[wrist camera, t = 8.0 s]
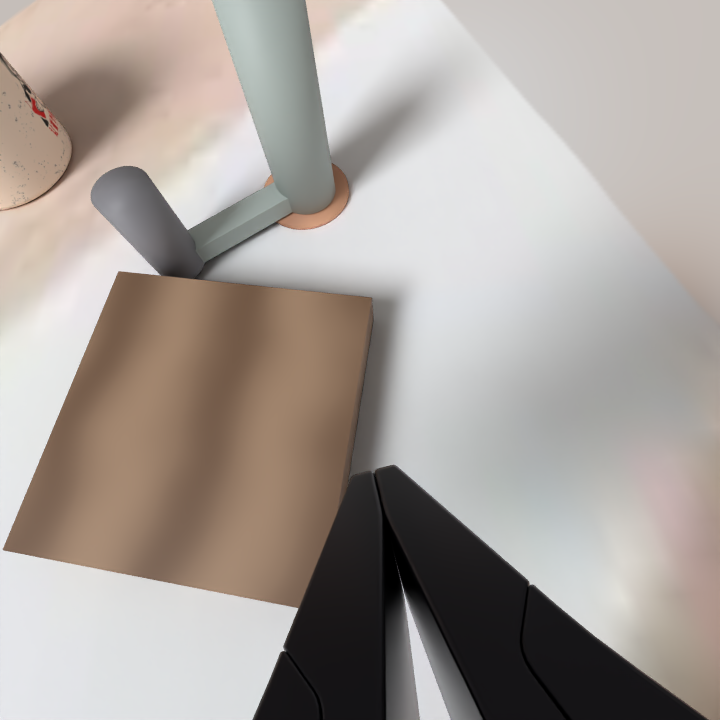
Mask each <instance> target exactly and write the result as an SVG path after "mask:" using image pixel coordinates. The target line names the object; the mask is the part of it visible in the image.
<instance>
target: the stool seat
mask: <svg viewBox="0 0 720 720" xmlns="http://www.w3.org/2000/svg"><path fill="white" fill-rule="evenodd" d="M331 164H332V170H333V176H334V183H335V196H334V198H333V200H332V202H331V203H330V204H329V205H328V206H327V207H326V208H324V209H323V210H321V211H319V212H316V213H313V214H306V215H303V214H296V213H293V212H292V213H290V214H288V215H287V216H285V217H283V218H281V219H280V220H278V221H276V222H277V223H279V224H280V225H282V226H285V227H288V228H291V229H299V230H305V229H312V228H317V227H320V226H322V225H325V224H327V223H329V222H330V221H332V220H333V219H335V218H336V217H337V216H338V215H339V214H340V213H341V212H342V210H343V209H344V207H345V205H346V203H347V200H348V196H349V188H348V182H347V179H346V177H345V175H344V173H343V172H342V171H341V170H340V169H339V168H338V167H337V166H336V165H334V164H333V163H331ZM273 182H274V180H273V177H272V174H271V175H270V177H269V178H268V180H267V181H266V183H265V186H264V187H266V186H268V185H270V184H272V183H273ZM372 326H373V306H372V298H370V297H360V296H350V295H341V294H331V293H322V292H312V291H302V290H293V289H283V288H274V287H264V286H254V285H245V284H235V283H226V282H216V281H206V280H197V279H187V278H178V277H168V276H158V275H149V274H139V273H130V272H120V271H119V272H118V274H117V276H116V279H115V281H114V284H113V286H112V288H111V291H110V293H109V296H108V298H107V300H106V303H105V305H104V308H103V310H102V312H101V315H100V317H99V320H98V322H97V324H96V327H95V329H94V332H93V334H92V336H91V339H90V341H89V344H88V346H87V348H86V351H85V353H84V356H83V358H82V360H81V363H80V365H79V368H78V370H77V372H76V375H75V377H74V380H73V382H72V384H71V387H70V389H69V392H68V394H67V396H66V399H65V401H64V404H63V406H62V408H61V411H60V413H59V416H58V418H57V420H56V423H55V425H54V428H53V430H52V433H51V435H50V437H49V440H48V442H47V445H46V447H45V449H44V452H43V454H42V457H41V459H40V461H39V464H38V466H37V469H36V471H35V473H34V476H33V478H32V481H31V483H30V485H29V488H28V490H27V493H26V495H25V497H24V500H23V502H22V505H21V507H20V509H19V512H18V514H17V517H16V519H15V521H14V524H13V526H12V529H11V531H10V533H9V536H8V538H7V541H6V543H5V545H4V548H3V550H5V551H10V552H15V553H20V554H25V555H30V556H35V557H40V558H46V559H51V560H56V561H61V562H66V563H71V564H76V565H81V566H86V567H92V568H97V569H102V570H107V571H112V572H117V573H122V574H127V575H132V576H138V577H143V578H148V579H153V580H158V581H163V582H168V583H173V584H178V585H184V586H189V587H194V588H199V589H204V590H209V591H214V592H219V593H224V594H230V595H235V596H240V597H245V598H250V599H255V600H260V601H265V602H271V603H276V604H281V605H286V606H291V607H296V608H299V606H300V604H301V601H302V599H303V596H304V594H305V591H306V589H307V586H308V584H309V581H310V579H311V576H312V574H313V571H314V569H315V566H316V564H317V561H318V559H319V556H320V554H321V551H322V549H323V546H324V544H325V542H326V539H327V537H328V534H329V532H330V529H331V527H332V524H333V522H334V519H335V517H336V514H337V512H338V509H339V507H340V504H341V502H342V499H343V497H344V494H345V492H346V489H347V485H348V479H349V472H350V466H351V459H352V453H353V447H354V440H355V434H356V428H357V421H358V415H359V408H360V402H361V396H362V389H363V383H364V377H365V370H366V364H367V357H368V351H369V345H370V338H371V332H372Z"/></svg>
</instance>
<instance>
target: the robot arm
mask: <svg viewBox="0 0 720 720" xmlns="http://www.w3.org/2000/svg"><path fill="white" fill-rule="evenodd" d="M397 566H398V567H397ZM398 570H399V571H398ZM399 574H400V575H399ZM400 578H401V579H400ZM401 582H402V584H401ZM402 586H403V589H404V593H405V596H406V599H407V602H408V605H409V608H410V611H411V613H412V616H413V619H414V621H415V624H416V627H417V630H418V632H419V635H420V638H421V640H422V643H423V646H424V648H425V651H426V654H427V657H428V659H429V662H430V665H431V667H432V670H433V673H434V675H435V678H436V681H437V684H438V686H439V689H440V692H441V694H442V697H443V700H444V702H445V705H446V708H447V711H448V713H449V716H450V719H451V720H709V719H707V718H706V717H704V716H703V715H702V714H700V713H699V712H698V711H696V710H695V709H693V708H692V707H691V706H689V705H688V704H686V703H685V702H684V701H682V700H681V699H679V698H678V697H677V696H675V695H674V694H672V693H671V692H670V691H668V690H667V689H666V688H664V687H663V686H661V685H660V684H659V683H657V682H656V681H654V680H653V679H652V678H650V677H649V676H647V675H646V674H645V673H643V672H642V671H641V670H639V669H638V668H637V667H635V666H634V665H633V664H631V663H630V662H629V661H627V660H626V659H624V658H623V657H622V656H620V655H619V654H618V653H616V652H615V651H614V650H612V649H611V648H610V647H608V646H607V645H606V644H604V643H603V642H602V641H600V640H599V639H598V638H596V637H595V636H594V635H593V634H591V633H590V632H589V631H588V630H586V629H585V628H584V627H583V626H582V625H580V624H579V623H578V622H577V621H576V620H574V619H573V618H572V617H571V616H569V615H568V614H567V613H566V612H565V611H563V610H562V609H561V608H560V607H559V606H557V605H556V604H555V603H554V602H553V601H552V600H550V599H549V598H548V597H547V596H546V595H545V594H544V593H542V592H541V591H540V590H539V589H538V588H537V587H536V586H534V585H530V584H529V581H528V580H527V579H526V578H525V577H524V576H523V575H521V574H520V573H519V572H518V571H517V570H516V569H515V568H513V567H512V566H511V565H510V564H509V563H508V562H506V561H505V560H504V559H503V558H502V557H501V556H500V555H498V554H497V553H496V552H495V551H494V550H493V549H492V548H490V547H489V546H488V545H487V544H486V543H485V542H484V541H482V540H481V539H480V538H479V537H478V536H477V535H475V534H474V533H473V532H472V531H471V530H470V529H469V528H467V527H466V526H465V525H464V524H463V523H462V522H461V521H459V520H458V519H457V518H456V517H455V516H454V515H452V514H451V513H450V512H449V511H448V510H447V509H446V508H444V507H443V506H442V505H441V504H440V503H439V502H438V501H436V500H435V499H434V498H433V497H432V496H431V495H429V494H428V493H427V492H426V491H425V490H424V489H423V488H421V487H420V486H419V485H418V484H417V483H416V482H415V481H413V480H412V479H411V478H410V477H409V476H408V475H407V474H405V473H404V472H403V471H402V470H401V469H400V468H398V467H397V466H396V465H390V466H386V467H383V468H379V469H376V470H375V474H374V472H373V471H367V472H363V473H359V474H355V475H353V476H352V477H351V479H350V482H349V484H348V487H347V489H346V492H345V494H344V497H343V499H342V502H341V504H340V507H339V509H338V512H337V514H336V517H335V519H334V522H333V524H332V527H331V529H330V532H329V534H328V537H327V539H326V542H325V544H324V546H323V549H322V551H321V554H320V556H319V559H318V561H317V564H316V566H315V569H314V571H313V574H312V576H311V579H310V581H309V584H308V586H307V589H306V591H305V594H304V596H303V599H302V601H301V604H300V606H299V609H298V611H297V614H296V616H295V619H294V621H293V624H292V626H291V629H290V631H289V633H288V636H287V638H286V641H285V643H284V646H283V648H284V651H282V652H281V653H280V655H279V658H278V660H277V663H276V665H275V668H274V670H273V673H272V675H271V678H270V680H269V683H268V685H267V687H266V690H265V692H264V694H263V697H262V699H261V701H260V704H259V706H258V708H257V710H256V713H255V715H254V717H253V720H420V717H419V709H418V701H417V693H416V685H415V677H414V669H413V661H412V653H411V645H410V637H409V629H408V621H407V613H406V606H405V599H404V593H403V589H402Z"/></svg>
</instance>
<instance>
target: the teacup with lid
mask: <svg viewBox="0 0 720 720" xmlns="http://www.w3.org/2000/svg"><path fill="white" fill-rule="evenodd" d="M71 151H72V146H71V140H70V137H69V135H68V133H67V131H66V130H65V129H64V127H63V126H62V125H61V124H60V123H59V121H58V120H57V119H56V118H55V117H54V115H53V114H52V113H51V112H50V111H49V110H48V108H47V107H46V106H45V105H44V104H43V102H42V101H41V100H40V99H39V98H38V97H37V95H36V94H35V93H34V92H33V91H32V89H31V88H30V87H29V86H28V85H27V84H26V82H25V81H24V80H23V79H22V78H21V76H20V75H19V74H18V73H17V72H16V70H15V69H14V68H13V67H12V66H11V65H10V63H9V62H8V61H7V60H6V59H5V57H4V56H3V55H2V54H1V53H0V210H4V209H9V208H13V207H17V206H20V205H23V204H25V203H27V202H30V201H32V200H33V199H35V198H37V197H39V196H40V195H42V194H43V193H45V192H46V191H47V190H48V189H50V188H51V187H52V186H53V185H54V184H55V183H56V182H57V181H58V180H59V178H60V177H61V176H62V175H63V173H64V171H65V170H66V168H67V166H68V164H69V161H70V158H71Z"/></svg>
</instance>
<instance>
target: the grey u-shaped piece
mask: <svg viewBox="0 0 720 720" xmlns="http://www.w3.org/2000/svg"><path fill="white" fill-rule="evenodd" d="M212 2H213V5H214V8H215V11H216V14H217V16H218V19H219V22H220V25H221V28H222V31H223V34H224V37H225V40H226V43H227V46H228V49H229V51H230V54H231V57H232V60H233V63H234V66H235V69H236V72H237V75H238V78H239V81H240V83H241V86H242V89H243V92H244V95H245V98H246V101H247V104H248V107H249V110H250V113H251V116H252V118H253V121H254V124H255V127H256V130H257V133H258V136H259V139H260V142H261V145H262V148H263V150H264V153H265V156H266V159H267V162H268V165H269V168H270V171H271V174H272V177H273V180H274V182H273V183H272V184H270V185H268V186H266V187H264V188H263V189H261V190H259V191H257V192H255V193H254V194H252V195H250V196H248V197H246V198H245V199H243V200H241V201H239V202H237V203H236V204H234V205H232V206H230V207H228V208H227V209H225V210H223V211H221V212H220V213H218V214H216V215H214V216H212V217H211V218H209V219H207V220H205V221H203V222H202V223H200V224H198V225H196V226H194V227H193V228H191V229H189V230H187V229H186V228H185V227H184V225H183V224H182V222H181V221H180V220H179V218H178V217H177V215H176V214H175V213H174V211H173V210H172V208H171V207H170V206H169V204H168V203H167V201H166V200H165V199H164V197H163V196H162V194H161V193H160V192H159V190H158V189H157V187H156V186H155V185H154V183H153V182H152V180H151V179H150V178H149V176H148V175H147V174H146V172H145V171H143V170H142V169H140V168H138V167H133V166H123V167H118V168H115V169H112V170H110V171H108V172H107V173H105V174H104V175H102V176H101V177H100V178H99V179H98V180H97V181H96V183H95V184H94V186H93V188H92V191H91V201H92V204H93V205H94V207H95V208H96V209H97V210H98V211H99V212H100V213H101V214H102V215H103V216H104V217H105V218H106V219H107V220H108V221H109V222H110V223H111V224H112V225H113V226H114V227H115V228H116V229H117V230H118V231H119V232H120V234H121V235H122V236H123V237H124V238H125V239H126V240H127V241H128V242H129V243H130V244H131V245H132V246H133V247H134V248H135V249H136V250H137V251H138V252H139V253H140V254H141V255H142V256H143V257H144V258H145V259H146V261H147V262H148V263H149V264H150V265H151V266H152V267H153V268H154V269H155V270H156V271H157V272H158V273H159V274H160V275H161V276H168V277H178V278H187V279H193V278H195V277H196V276H197V275H198V274H199V273H200V272H201V270H202V268H203V266H204V263H205V262H207V261H208V260H210V259H212V258H213V257H215V256H217V255H219V254H220V253H222V252H224V251H226V250H227V249H229V248H231V247H233V246H234V245H236V244H238V243H240V242H241V241H243V240H245V239H247V238H248V237H250V236H252V235H253V234H255V233H257V232H259V231H260V230H262V229H264V228H266V227H267V226H269V225H271V224H273V223H274V222H276V221H278V220H280V219H281V218H283V217H285V216H287V215H288V214H290V213H292V212H293V213H296V214H303V215H306V214H313V213H316V212H319V211H321V210H323V209H324V208H326V207H327V206H328V205H329V204H330V203H331V202H332V200H333V198H334V196H335V183H334V176H333V170H332V164H331V158H330V151H329V145H328V139H327V133H326V126H325V120H324V114H323V108H322V102H321V95H320V89H319V83H318V77H317V70H316V64H315V58H314V52H313V45H312V39H311V33H310V27H309V20H308V14H307V8H306V2H305V0H212Z"/></svg>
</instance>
